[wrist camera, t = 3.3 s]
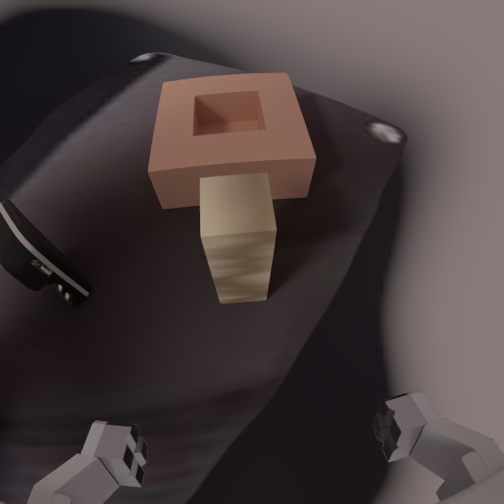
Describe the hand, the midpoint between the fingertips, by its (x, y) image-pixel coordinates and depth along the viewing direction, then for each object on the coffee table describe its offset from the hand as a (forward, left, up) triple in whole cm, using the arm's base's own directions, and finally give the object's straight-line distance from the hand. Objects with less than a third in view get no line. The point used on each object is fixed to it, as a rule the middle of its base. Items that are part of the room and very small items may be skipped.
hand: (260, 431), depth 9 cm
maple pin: (0, +11, -16) cm, 19 cm away
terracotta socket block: (0, +27, -16) cm, 32 cm away
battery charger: (-18, +12, -16) cm, 27 cm away
